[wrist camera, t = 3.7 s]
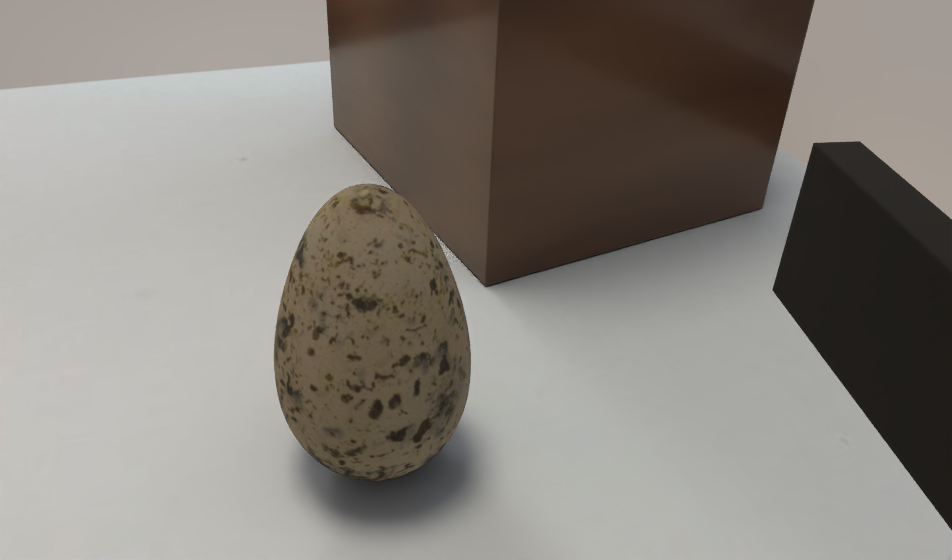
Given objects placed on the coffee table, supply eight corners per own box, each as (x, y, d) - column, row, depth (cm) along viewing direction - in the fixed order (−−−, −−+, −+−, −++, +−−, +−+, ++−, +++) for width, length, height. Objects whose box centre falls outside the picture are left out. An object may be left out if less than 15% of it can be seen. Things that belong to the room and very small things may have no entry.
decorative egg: (498, 433, 30) (516, 174, 24) (403, 556, 26) (399, 275, 20) (356, 374, 32) (342, 124, 27) (247, 478, 28) (204, 205, 22)
